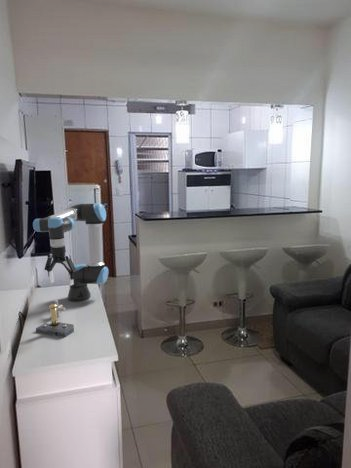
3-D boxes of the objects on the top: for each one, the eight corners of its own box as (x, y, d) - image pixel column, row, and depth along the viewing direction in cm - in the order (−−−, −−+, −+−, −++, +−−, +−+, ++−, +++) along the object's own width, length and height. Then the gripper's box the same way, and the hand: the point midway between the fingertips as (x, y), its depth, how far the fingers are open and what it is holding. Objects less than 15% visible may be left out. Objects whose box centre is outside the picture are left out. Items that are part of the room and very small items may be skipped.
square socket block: (45, 326, 200) (44, 318, 200) (74, 331, 193) (73, 323, 192) (36, 331, 194) (35, 323, 193) (65, 337, 186) (64, 328, 185)
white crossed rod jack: (61, 320, 208) (59, 304, 206) (45, 319, 210) (44, 303, 208) (69, 314, 218) (68, 298, 216) (54, 313, 220) (53, 297, 218)
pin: (54, 329, 196) (52, 303, 194) (60, 330, 194) (58, 304, 192) (49, 332, 192) (47, 305, 190) (55, 333, 191) (53, 306, 189)
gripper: (35, 246, 193) (39, 283, 197) (71, 249, 183) (75, 288, 187) (45, 243, 200) (49, 279, 204) (81, 245, 190) (84, 283, 194)
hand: (61, 283), depth 196 cm, fingers open, 13 cm apart
